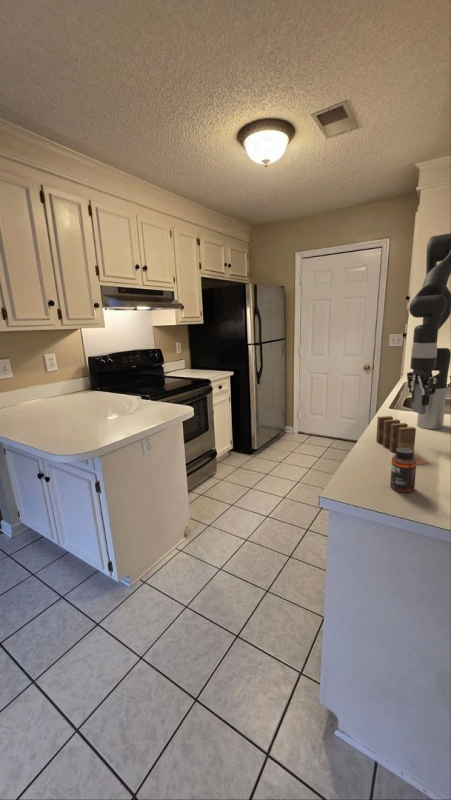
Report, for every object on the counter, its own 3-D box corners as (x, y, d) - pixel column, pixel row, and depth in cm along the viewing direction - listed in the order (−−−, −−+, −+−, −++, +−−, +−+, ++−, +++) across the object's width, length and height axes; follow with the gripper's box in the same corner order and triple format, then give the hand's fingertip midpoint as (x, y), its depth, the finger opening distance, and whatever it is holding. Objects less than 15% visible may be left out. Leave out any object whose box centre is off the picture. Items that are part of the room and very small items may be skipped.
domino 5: (421, 414, 115) (423, 386, 113) (412, 410, 120) (414, 384, 118) (425, 414, 115) (428, 386, 113) (416, 410, 120) (418, 383, 118)
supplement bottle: (413, 485, 92) (416, 447, 90) (415, 495, 87) (418, 455, 84) (389, 481, 95) (392, 444, 92) (390, 491, 89) (392, 452, 87)
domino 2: (382, 446, 121) (384, 420, 119) (395, 445, 121) (397, 419, 119) (384, 447, 119) (386, 421, 117) (398, 446, 120) (400, 420, 117)
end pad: (399, 458, 109) (399, 457, 109) (417, 457, 110) (417, 456, 110) (408, 465, 105) (408, 464, 105) (427, 463, 105) (427, 462, 105)
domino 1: (376, 441, 125) (377, 416, 123) (388, 440, 126) (390, 415, 123) (378, 443, 124) (379, 418, 122) (391, 442, 124) (392, 417, 122)
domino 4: (396, 455, 112) (398, 427, 110) (410, 454, 112) (413, 426, 110) (399, 457, 111) (401, 429, 108) (413, 456, 111) (416, 428, 109)
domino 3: (389, 450, 117) (391, 423, 114) (402, 449, 117) (404, 422, 115) (391, 452, 115) (393, 425, 113) (405, 451, 115) (407, 424, 113)
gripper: (449, 357, 106) (444, 407, 110) (420, 353, 120) (417, 397, 124) (427, 358, 106) (422, 409, 110) (401, 354, 120) (397, 399, 124)
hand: (419, 403), depth 117 cm, fingers closed on domino 5, 5 cm apart
